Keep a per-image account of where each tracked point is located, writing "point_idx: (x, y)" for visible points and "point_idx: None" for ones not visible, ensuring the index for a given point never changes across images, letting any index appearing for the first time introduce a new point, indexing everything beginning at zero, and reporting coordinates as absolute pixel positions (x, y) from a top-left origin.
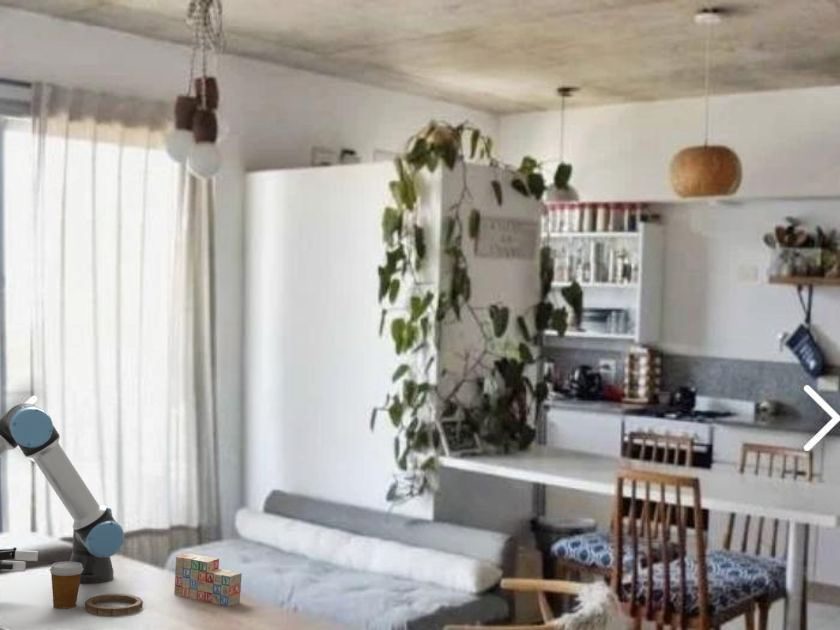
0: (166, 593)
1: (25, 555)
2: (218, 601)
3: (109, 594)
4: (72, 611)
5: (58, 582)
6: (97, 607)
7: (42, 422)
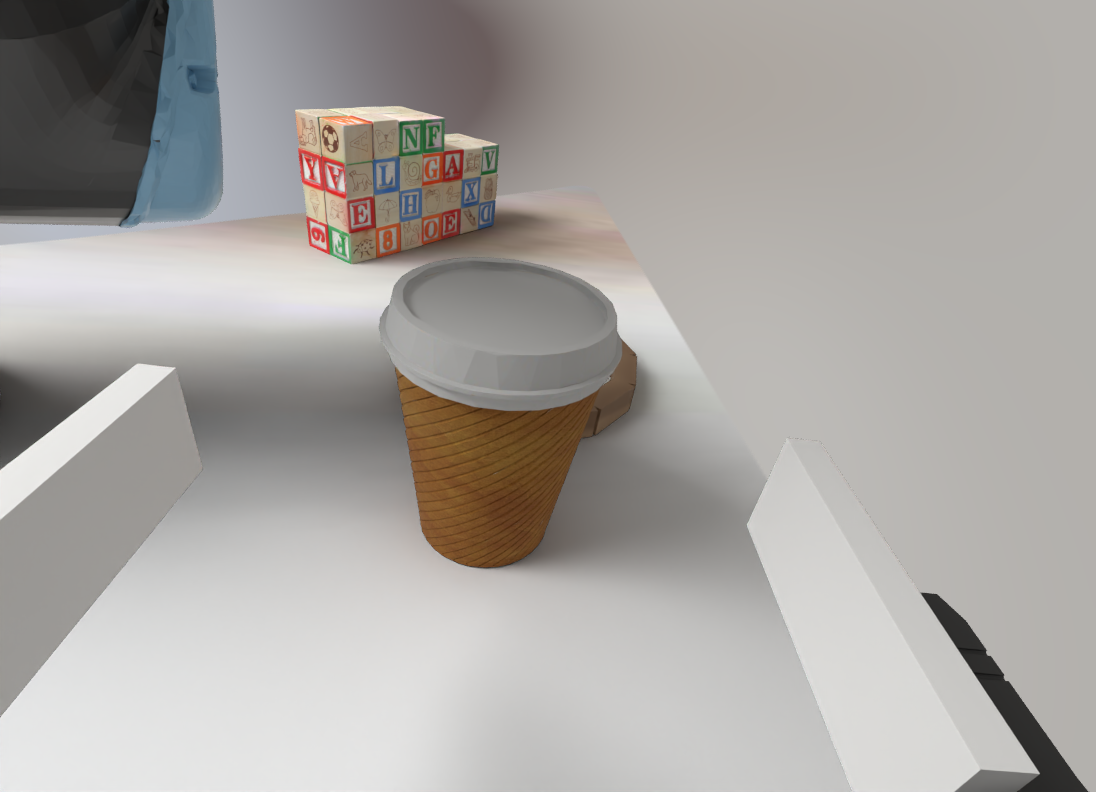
0: (329, 272)
1: (68, 539)
2: (474, 223)
3: None
4: (594, 482)
5: (587, 419)
6: (629, 385)
7: None
